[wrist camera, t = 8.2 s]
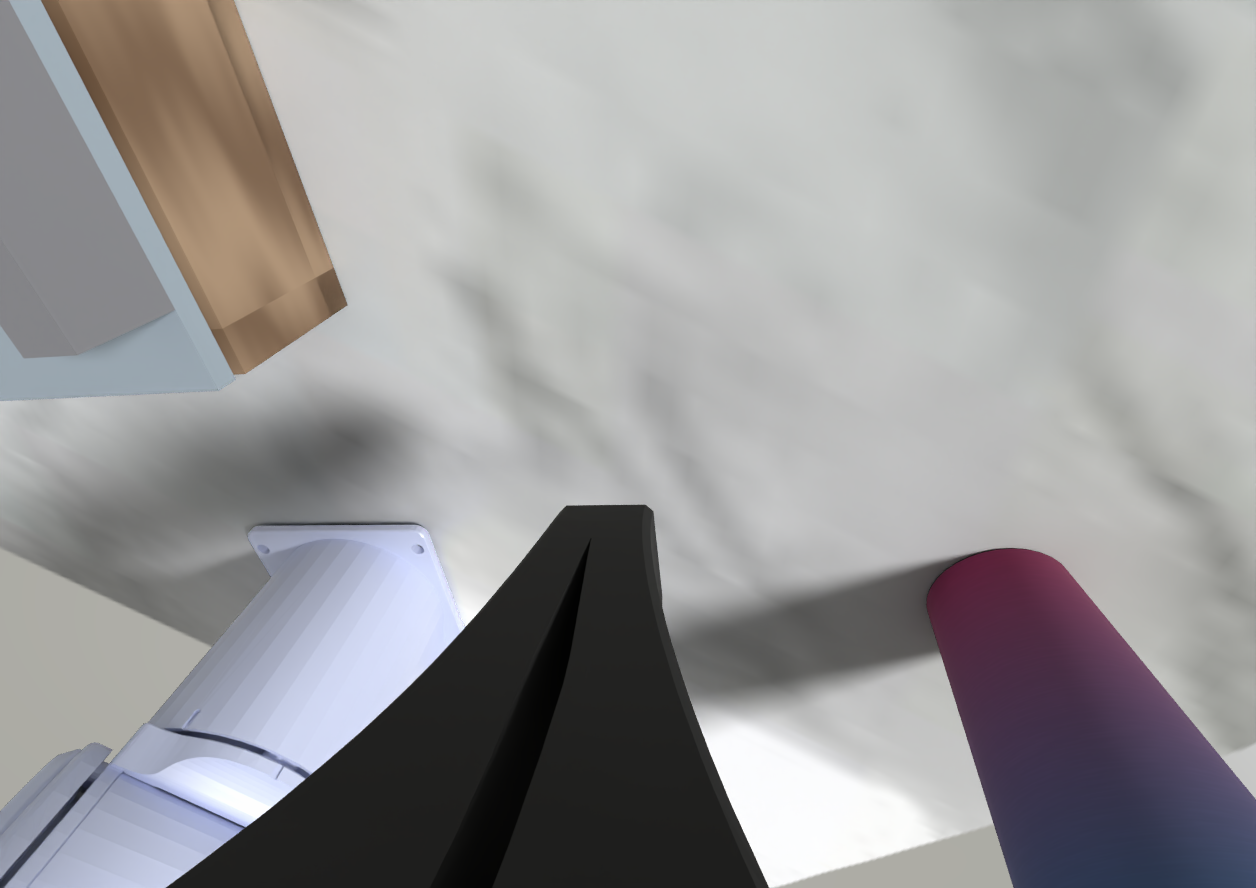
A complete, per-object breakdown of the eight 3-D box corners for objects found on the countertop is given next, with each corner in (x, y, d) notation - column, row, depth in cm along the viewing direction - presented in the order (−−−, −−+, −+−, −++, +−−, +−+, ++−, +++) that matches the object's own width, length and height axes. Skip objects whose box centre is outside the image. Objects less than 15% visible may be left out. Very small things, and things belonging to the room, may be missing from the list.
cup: (967, 506, 20) (1378, 1212, 8) (1144, 561, 21) (1805, 1317, 8) (869, 627, 24) (1042, 1235, 12) (1020, 671, 24) (1345, 1305, 12)
